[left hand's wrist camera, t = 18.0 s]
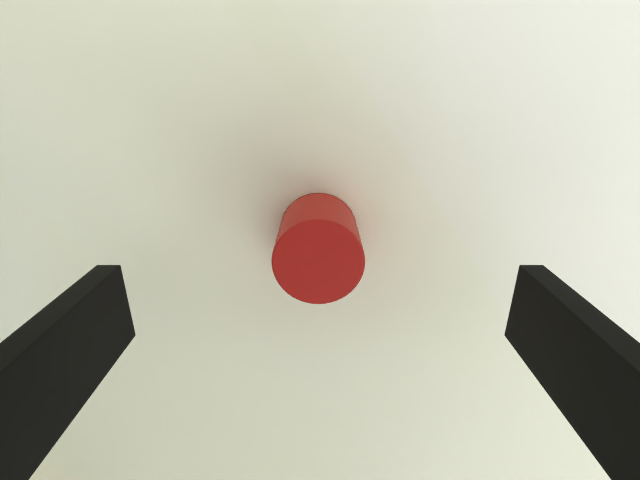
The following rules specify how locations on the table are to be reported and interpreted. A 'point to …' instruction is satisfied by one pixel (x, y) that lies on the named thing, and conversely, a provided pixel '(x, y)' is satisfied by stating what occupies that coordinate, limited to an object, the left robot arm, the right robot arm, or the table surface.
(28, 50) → the table surface
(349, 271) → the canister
